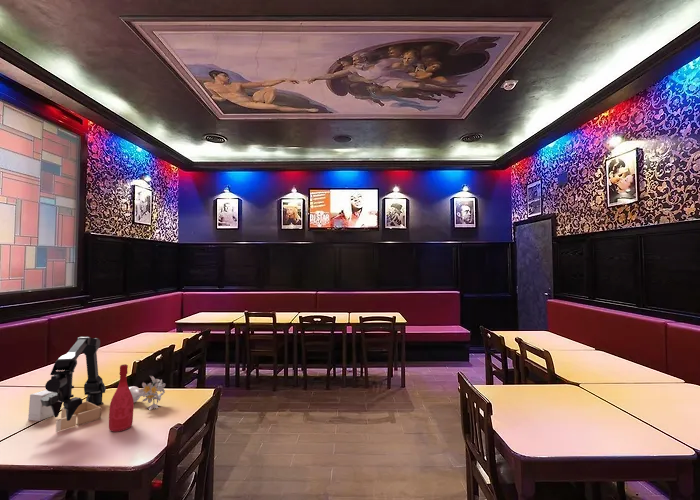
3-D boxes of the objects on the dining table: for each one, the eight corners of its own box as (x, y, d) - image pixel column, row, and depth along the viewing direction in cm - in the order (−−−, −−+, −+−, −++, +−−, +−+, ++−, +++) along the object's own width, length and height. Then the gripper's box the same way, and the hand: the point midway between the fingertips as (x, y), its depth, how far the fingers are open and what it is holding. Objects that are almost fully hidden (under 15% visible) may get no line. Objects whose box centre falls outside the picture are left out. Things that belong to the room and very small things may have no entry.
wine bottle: (106, 434, 163) (110, 368, 165) (109, 426, 171) (113, 363, 173) (131, 430, 167) (134, 366, 169) (133, 422, 176) (136, 361, 178)
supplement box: (39, 421, 176) (41, 395, 176) (27, 420, 177) (29, 394, 178) (54, 415, 183) (56, 390, 184) (43, 414, 184) (44, 389, 185)
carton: (86, 411, 188) (87, 401, 189) (100, 418, 180) (101, 407, 180) (63, 418, 180) (64, 407, 180) (77, 425, 171) (78, 414, 172)
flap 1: (63, 417, 179) (63, 407, 180) (68, 421, 176) (69, 410, 176) (60, 418, 179) (61, 408, 179) (66, 421, 175) (67, 411, 175)
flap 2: (55, 431, 164) (56, 420, 165) (74, 425, 171) (75, 414, 171) (56, 432, 164) (57, 420, 164) (75, 426, 170) (76, 415, 171)
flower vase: (123, 417, 197) (154, 413, 188) (113, 386, 197) (143, 380, 188) (144, 405, 209) (173, 400, 200) (134, 376, 209) (164, 369, 200)
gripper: (32, 387, 162) (29, 422, 161) (57, 392, 155) (54, 429, 154) (59, 380, 173) (57, 413, 172) (84, 385, 166) (82, 419, 165)
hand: (62, 418), depth 165 cm, fingers open, 9 cm apart
